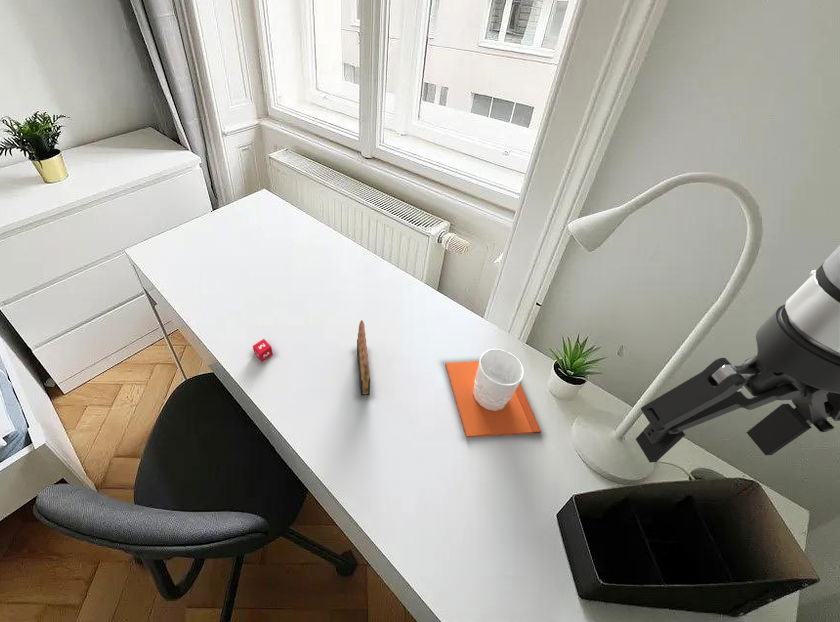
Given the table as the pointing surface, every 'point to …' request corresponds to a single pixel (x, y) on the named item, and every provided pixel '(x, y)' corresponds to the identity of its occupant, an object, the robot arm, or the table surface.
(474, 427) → the folder
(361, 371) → the ammunition clip
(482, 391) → the white cup
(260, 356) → the dice
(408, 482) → the table surface
